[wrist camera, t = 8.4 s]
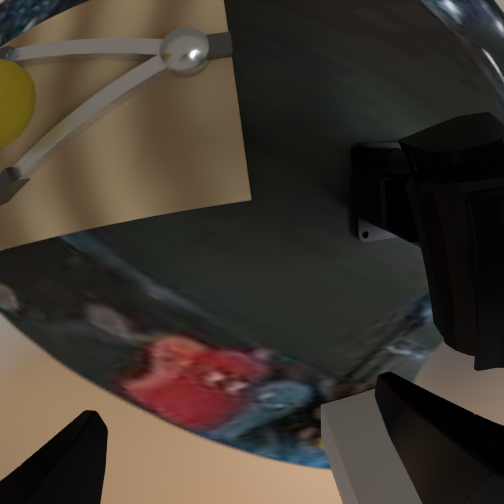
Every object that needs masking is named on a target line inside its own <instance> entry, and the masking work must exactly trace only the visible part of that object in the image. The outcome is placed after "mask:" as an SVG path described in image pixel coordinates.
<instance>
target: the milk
mask: <svg viewBox="0 0 504 504" xmlns="http://www.w3.org/2000/svg"><path fill="white" fill-rule="evenodd" d="M321 440H322V443H323V446H324V449H325V452H326V455H327V458H328V461H329V464H330V467H331V470H332V473H333V476H334V479H335V482H336V485H337V487H338V491H339V493H340V496H341V499H342V502H343V504H422V502H421V500H420V498H419V496H418V494H417V492H416V490H415V488H414V485H413V483H412V481H411V479H410V477H409V475H408V473H407V471H406V469H405V467H404V465H403V463H402V461H401V459H400V457H399V455H398V453H397V451H396V449H395V447H394V445H393V443H392V441H391V439H390V437H389V435H388V432H387V430H386V427H385V424H384V421H383V418H382V416H381V413H380V410H379V408H378V405H377V402H376V399H375V389H372V390H369V391H366V392H363V393H359V394H356V395H353V396H350V397H346V398H343V399H339V400H336V401H332V402H328V403H325V404H321Z"/></svg>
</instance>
